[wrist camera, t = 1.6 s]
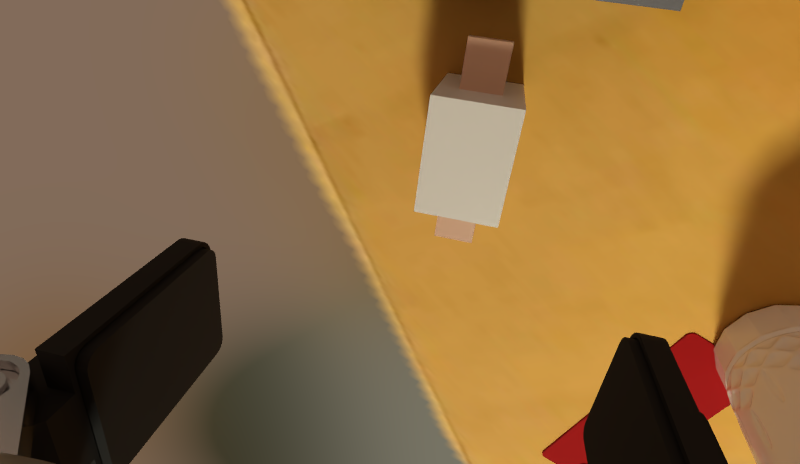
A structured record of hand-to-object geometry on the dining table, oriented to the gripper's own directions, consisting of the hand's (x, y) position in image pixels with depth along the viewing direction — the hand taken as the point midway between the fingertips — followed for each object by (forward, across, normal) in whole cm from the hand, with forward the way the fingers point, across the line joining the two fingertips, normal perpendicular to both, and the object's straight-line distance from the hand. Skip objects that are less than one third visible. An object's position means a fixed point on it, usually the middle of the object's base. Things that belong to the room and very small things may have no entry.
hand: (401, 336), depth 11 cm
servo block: (+18, -1, 0) cm, 18 cm away
